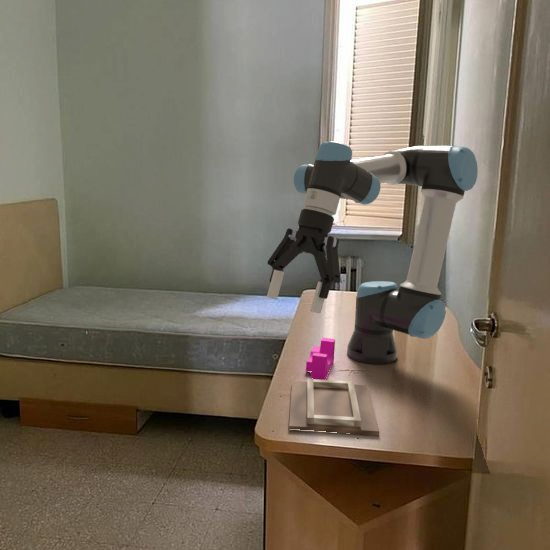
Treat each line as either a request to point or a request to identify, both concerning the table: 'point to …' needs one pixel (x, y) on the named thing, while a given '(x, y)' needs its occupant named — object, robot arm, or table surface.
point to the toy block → (321, 359)
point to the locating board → (332, 407)
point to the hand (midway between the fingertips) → (292, 305)
